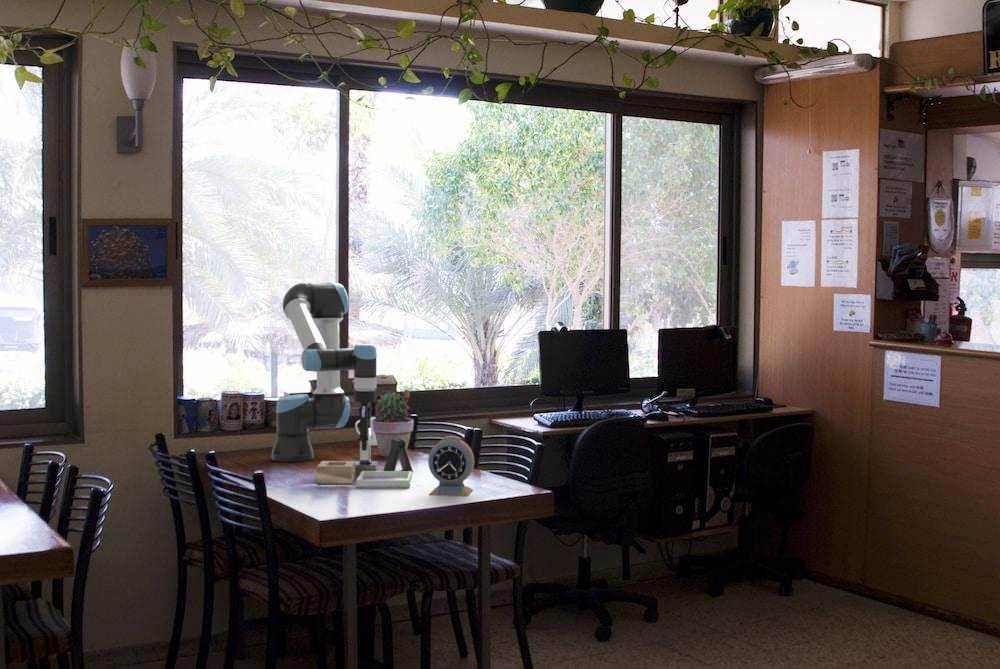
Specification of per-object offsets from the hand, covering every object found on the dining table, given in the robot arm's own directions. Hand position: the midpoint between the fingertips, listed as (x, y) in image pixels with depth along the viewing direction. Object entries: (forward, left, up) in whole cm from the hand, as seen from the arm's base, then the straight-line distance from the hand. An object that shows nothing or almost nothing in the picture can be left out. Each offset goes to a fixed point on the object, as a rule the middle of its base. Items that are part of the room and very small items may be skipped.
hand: (365, 458), depth 373 cm
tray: (+15, +8, -6) cm, 18 cm away
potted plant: (-42, +5, -6) cm, 43 cm away
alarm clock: (+30, +30, -6) cm, 43 cm away
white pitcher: (-67, -5, -6) cm, 67 cm away
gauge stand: (0, 0, -6) cm, 6 cm away
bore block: (+13, -8, -6) cm, 16 cm away
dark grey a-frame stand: (-2, +11, -6) cm, 13 cm away
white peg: (0, 0, -5) cm, 5 cm away
